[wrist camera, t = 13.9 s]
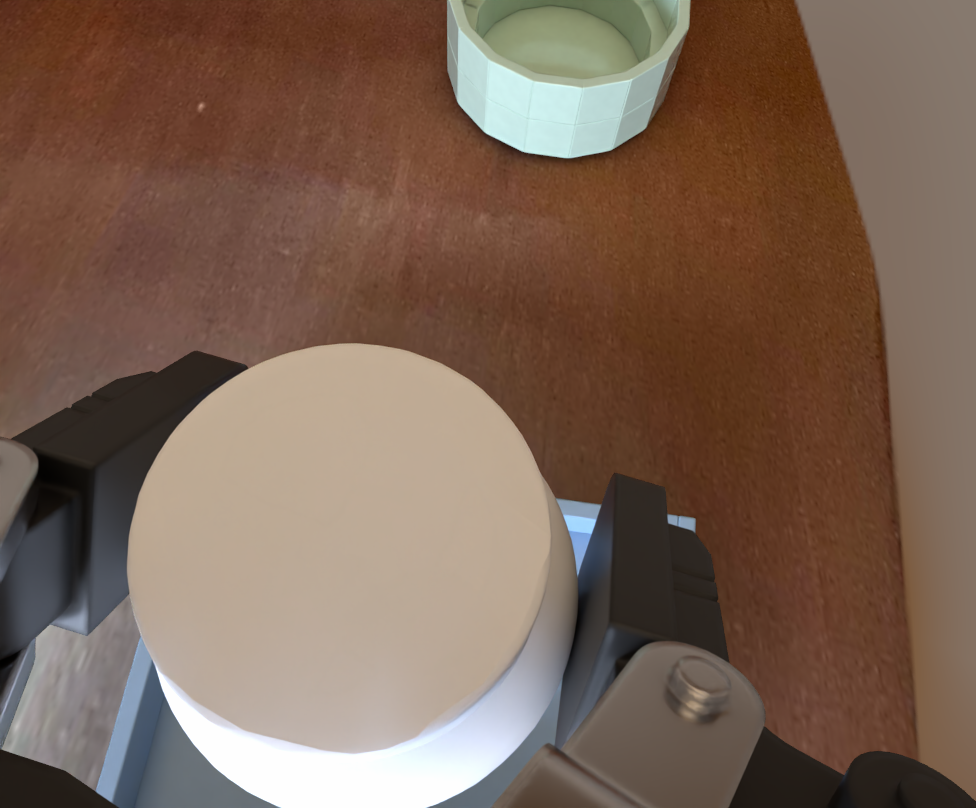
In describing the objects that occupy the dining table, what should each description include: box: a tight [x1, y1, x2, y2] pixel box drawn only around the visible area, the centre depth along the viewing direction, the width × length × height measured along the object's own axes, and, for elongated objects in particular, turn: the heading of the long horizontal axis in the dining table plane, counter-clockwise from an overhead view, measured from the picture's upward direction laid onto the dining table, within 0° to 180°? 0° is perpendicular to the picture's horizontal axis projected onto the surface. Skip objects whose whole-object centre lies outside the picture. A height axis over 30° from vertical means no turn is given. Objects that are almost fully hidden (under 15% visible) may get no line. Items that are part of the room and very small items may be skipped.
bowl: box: [447, 0, 691, 158], centre depth 35 cm, size 10×10×4 cm
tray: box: [96, 498, 696, 808], centre depth 26 cm, size 17×13×2 cm
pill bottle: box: [127, 343, 578, 808], centre depth 12 cm, size 5×5×10 cm
